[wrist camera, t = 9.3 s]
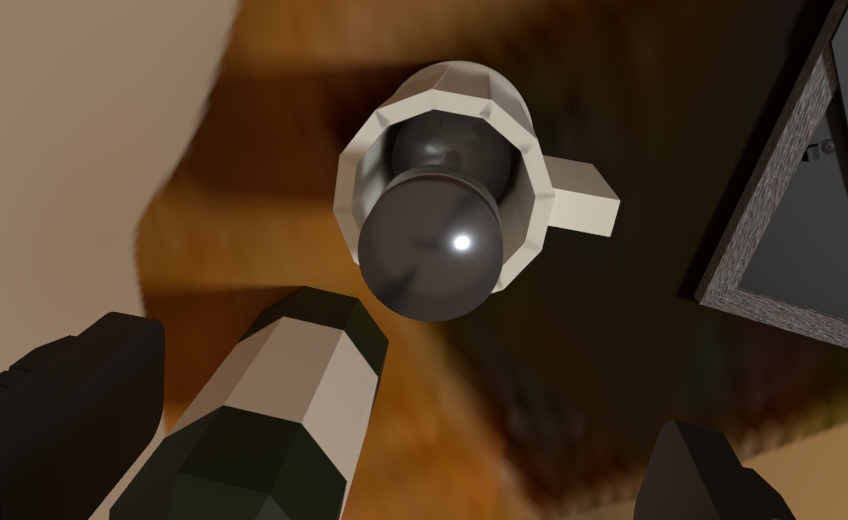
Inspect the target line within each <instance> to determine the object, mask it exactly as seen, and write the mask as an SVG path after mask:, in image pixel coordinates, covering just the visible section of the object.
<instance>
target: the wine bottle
mask: <svg viewBox="0 0 848 520" xmlns="http://www.w3.org/2000/svg"><path fill="white" fill-rule="evenodd" d="M388 343H389V341H388V339H387V338H386V337H385V335H384V334H383V332H382V331H381V330H380V328H379V327H378V325H377V324H376V323H375V321H374V320H373V318H372V317H371V316H370V314H369V313H368V311H367V310H366V309H365V307H364V306H363V304H362V303H361V302H360V300H359V299H358V298H354V297H350V296H345V295H341V294H337V293H332V292H328V291H324V290H319V289H315V288H311V287H306V286H304V287H302V288H300V289H299V290H297V291H295V292H294V293H292V294H290V295H289V296H287V297H285V298H284V299H282V300H280V301H279V302H277V303H275V304H274V305H272V306H270V307H269V308H267V309H265V310H264V311H262V312H261V313H260V315H259V316H258V317H257V318H256V320H255V321H254V322H253V324H252V325H251V326H250V328H249V329H248V330H247V331H246V333H245V334H244V335H243V337H242V338H241V339H240V341H239V342H238V343H237V344H236V346H235V347H234V348H233V350H232V351H231V352H230V354H229V355H228V356H227V357H226V359H225V360H224V361H223V363H222V364H221V365H220V367H219V368H218V369H217V371H216V372H215V373H214V374H213V376H212V377H211V378H210V380H209V381H208V382H207V384H206V385H205V386H204V387H203V389H202V390H201V391H200V393H199V394H198V395H197V397H196V398H195V399H194V400H193V402H192V403H191V404H190V406H189V407H188V408H187V410H186V411H185V412H184V413H183V415H182V416H181V417H180V419H179V420H178V421H177V423H176V424H175V425H174V426H173V428H172V429H171V430H170V432H169V433H168V434H167V436H166V437H165V438H164V439H163V441H162V442H161V443H160V445H159V446H158V447H157V449H156V450H155V451H154V452H153V454H152V455H151V456H150V458H149V459H148V460H147V462H146V463H145V464H144V466H143V467H142V468H141V469H140V471H139V472H138V473H137V475H136V476H135V477H134V479H133V480H132V481H131V483H130V484H129V485H128V487H127V488H126V489H125V490H124V492H123V493H122V494H121V496H120V497H119V498H118V499H117V501H116V502H115V503H114V505H113V506H112V507H111V508H110V513H109V520H341V517H342V514H343V510H344V507H345V503H346V500H347V496H348V493H349V489H350V486H351V482H352V479H353V475H354V472H355V469H356V465H357V462H358V458H359V455H360V451H361V448H362V444H363V441H364V437H365V434H366V430H367V427H368V423H369V420H370V416H371V413H372V409H373V406H374V402H375V399H376V395H377V392H378V389H379V384H380V380H381V375H382V371H383V366H384V361H385V357H386V352H387V348H388Z"/></svg>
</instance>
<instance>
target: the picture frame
mask: <svg viewBox="0 0 848 520" xmlns="http://www.w3.org/2000/svg"><path fill="white" fill-rule="evenodd" d="M694 297H695V299H696V300H697V301H698V303H699V304H701V305H705V306H708V307H711V308H715V309H718V310H721V311H725V312H728V313H731V314H735V315H738V316H741V317H745V318H748V319H751V320H755V321H758V322H761V323H765V324H768V325H771V326H775V327H778V328H781V329H785V330H788V331H791V332H795V333H798V334H801V335H805V336H808V337H811V338H815V339H818V340H821V341H825V342H828V343H832V344H835V345H838V346H842V347H845V348H848V0H835V2H834V4H833V6H832V8H831V10H830V12H829V14H828V16H827V18H826V20H825V22H824V25H823V27H822V29H821V31H820V33H819V35H818V37H817V39H816V41H815V43H814V45H813V48H812V50H811V52H810V54H809V56H808V58H807V60H806V62H805V64H804V66H803V68H802V71H801V73H800V75H799V77H798V79H797V81H796V83H795V85H794V87H793V89H792V91H791V93H790V96H789V98H788V100H787V102H786V104H785V106H784V108H783V110H782V112H781V114H780V116H779V119H778V121H777V123H776V125H775V127H774V129H773V131H772V133H771V135H770V137H769V139H768V142H767V144H766V146H765V148H764V150H763V152H762V154H761V156H760V158H759V160H758V162H757V165H756V167H755V169H754V171H753V173H752V175H751V177H750V179H749V181H748V183H747V185H746V187H745V190H744V192H743V194H742V196H741V198H740V200H739V202H738V204H737V206H736V208H735V210H734V213H733V215H732V217H731V219H730V221H729V223H728V225H727V227H726V229H725V231H724V233H723V236H722V238H721V240H720V242H719V244H718V246H717V248H716V250H715V252H714V254H713V256H712V259H711V261H710V263H709V265H708V267H707V269H706V271H705V273H704V275H703V277H702V279H701V281H700V284H699V286H698V288H697V290H696V292H695V294H694Z"/></svg>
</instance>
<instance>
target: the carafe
mask: <svg viewBox="0 0 848 520" xmlns="http://www.w3.org/2000/svg"><path fill="white" fill-rule="evenodd" d="M432 109H436V110H441V111H446V112H452V113H457V114H463V115H468V116H474V117H479V118H484V119H485V120H486V121H487V122H488V123H489V124H490V125H492V126H493V127H494V128H495V129H496V130H497V131H498V132H500V133H501V134H502V135H503V136H504V137H505V138H507V139H508V140H509V144H510V149H511V157H512V159H511V171H510V175H509V178H508V181H507V183H506V186H505V188H504V189H503V191H502V193H501V194H500V195H499V197H498V198H497V199H496V200H495V202H496V204H497V207H498V210H499V214H500V219H501V229H502V240H503V266H502V271H501V274H500V277H499V279H498V282H497V284H496V286H495V287H494V289H493V291H492V292H491V293H494V292H497V291H500V290H504V288H505V287H506V286H507V285H508V284H509V283H510V282H511V281H512V280H513V279H514V278H515V277H516V276H517V275H518V274H519V273H520V272H521V271H522V270H523V269H524V268H525V267H526V266H527V265H528V263H529V262H530V261H531V260H532V259H533V258H534V257H535V256H536V255H537V254H538V253H539V252H540V251H541V250H542V246H543V242H544V238H545V234H546V230H547V226H548V225H550V226H555V227H561V228H566V229H571V230H577V231H582V232H587V233H593V234H598V235H603V236H609V237H610V235H611V232H612V228H613V225H614V221H615V218H616V214H617V211H618V207H619V204H620V199H619V198H618V197H617V196H616V194H615V193H614V192H613V190H612V189H611V188H610V186H609V185H608V184H607V183H606V181H605V180H604V179H603V177H602V176H601V175H600V173H599V172H598V171H597V170H596V168H595V167H594V166H593V164H588V163H582V162H577V161H571V160H566V159H561V158H555V157H550V156H544V155H542V153H541V150H540V146H539V143H538V139H537V137H536V135H535V133H534V130H533V127H532V121H531V117H530V114H529V111H528V109H527V106H526V104H525V102H524V100H523V99H522V97H521V95H520V93H519V92H518V91H517V89H516V88H515V87H514V86H513V85H512V84H511V83H510V82H509V81H508V80H507V79H506V78H505V77H504V76H502V75H501V74H500V73H498V72H497V71H495V70H493V69H491V68H489V67H487V66H484V65H482V64H479V63H475V62H471V61H462V60H457V61H445V62H440V63H437V64H433V65H430V66H428V67H426V68H424V69H422V70H420V71H418V72H417V73H415V74H414V75H412V76H411V77H410V78H409V79H408V80H406V81H405V82H404V83H403V84H402V85H401V86H400V87H399V88H398V90H397V91H396V92H395V94H394V95H393V96H392V97H391V98H389V99H388V100H387V101H386V102H384V103H383V104H382V105H381V106H379V107H378V108H377V109H376V110H375V111H374V113H373V114H372V115H371V116H370V118H369V119H368V120H367V122H366V123H365V124H364V125H363V127H362V128H361V129H360V130H359V132H358V133H357V134H356V136H355V137H354V138H353V139H352V141H351V142H350V143H349V144H348V146H347V147H346V148H345V149H344V151H343V152H342V153H341V154H340V156H339V165H338V173H337V181H336V189H335V197H334V205H333V213H334V215H335V217H336V220H337V222H338V224H339V227H340V229H341V232H342V234H343V236H344V239H345V241H346V243H347V246H348V248H349V250H350V253H351V255H352V257H353V260H354V262H356V263H357V264H358V265H359V261H358V240H359V236H360V232H361V229H362V226H363V224H364V222H365V220H366V218H367V216H368V215H369V213H370V211H371V210H372V208H373V206H374V205H375V203H376V201H377V200H378V198H379V196H380V195H381V193H382V192H383V190H384V189H385V187H386V186H387V185H388V184H389V183H390V182H391V181H392V180H393V179H395V176H394V172H393V167H392V153H393V147H394V143H395V140H396V137H397V135H398V133H399V131H400V129H401V128H402V126H403V125H404V123H405V122H406V121H407V120H408V118H411V117H413V116H416V115H419V114H422V113H424V112H427V111H430V110H432Z"/></svg>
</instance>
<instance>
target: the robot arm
mask: <svg viewBox="0 0 848 520" xmlns="http://www.w3.org/2000/svg"><path fill="white" fill-rule="evenodd" d="M164 355H165V331H164V327H163V324H162V323H161V322H160V321H159V320H155V319H149V318H144V317H139V316H134V315H129V314H123V313H118V312H110V313H107V314H106V315H104V316H103V317H102V318H101V319H99V320H98V321H97V322H95V323H94V324H93V325H91V326H90V327H89V328H88V329H86V330H85V331H83V332H82V333H81V334H79V335H78V336H71V335H69V336H67V337H64V338H61V339H59V340H56V341H54V342H51V343H48V344H45V345H43V346H40V347H37V348H35V349H34V350H32V351H31V352H29V353H28V354H27V355H25V356H24V357H22V358H21V359H20V360H18V361H17V362H16V363H14V364H13V365H11V366H10V367H9V370H8V371H3V372H1V373H0V520H88V519H89V518H90V516H91V515H92V514H93V513H94V512H95V510H96V509H97V508H98V507H99V505H100V504H101V503H102V502H103V500H104V499H105V497H106V496H107V495H108V494H109V493H110V492H111V490H112V489H113V488H114V487H115V486H116V484H117V483H118V482H119V481H120V479H121V478H122V477H123V476H124V474H125V473H126V472H127V471H128V470H129V468H130V467H131V466H132V465H133V463H134V462H135V461H136V460H137V458H138V457H139V456H140V455H141V453H142V452H143V451H144V450H145V449H146V447H147V446H148V445H149V443H150V442H151V440H152V439H153V437H154V435H155V433H156V431H157V429H158V426H159V423H160V420H161V416H162V411H163V402H164ZM633 519H634V520H796V519H795V517H794V516H793V514H792V512H791V511H790V509H789V508H788V506H787V504H786V503H785V501H784V499H783V498H782V496H781V495H780V494H779V493H778V492H777V491H776V490H775V489H774V488H772V487H771V485H769V484H768V483H767V482H766V481H765V480H764V479H763V478H762V477H761V476H760V475H759V474H758V473H757V472H755V471H754V470H753V469H750V468H745V467H742V465H741V463H740V462H739V460H738V458H737V456H736V454H735V453H734V451H733V449H732V447H731V446H730V444H729V442H728V440H727V438H726V437H725V435H724V434H723V432H722V431H721V430H719V429H716V428H710V427H705V426H700V425H695V424H690V423H684V422H679V421H674V420H668V421H667V422H666V423H665V424H664V425H663V427H662V428H661V431H660V433H659V436H658V439H657V442H656V444H655V447H654V450H653V453H652V456H651V459H650V462H649V465H648V468H647V470H646V473H645V476H644V479H643V482H642V485H641V488H640V491H639V494H638V496H637V500H636V504H635V509H634V518H633Z"/></svg>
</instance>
